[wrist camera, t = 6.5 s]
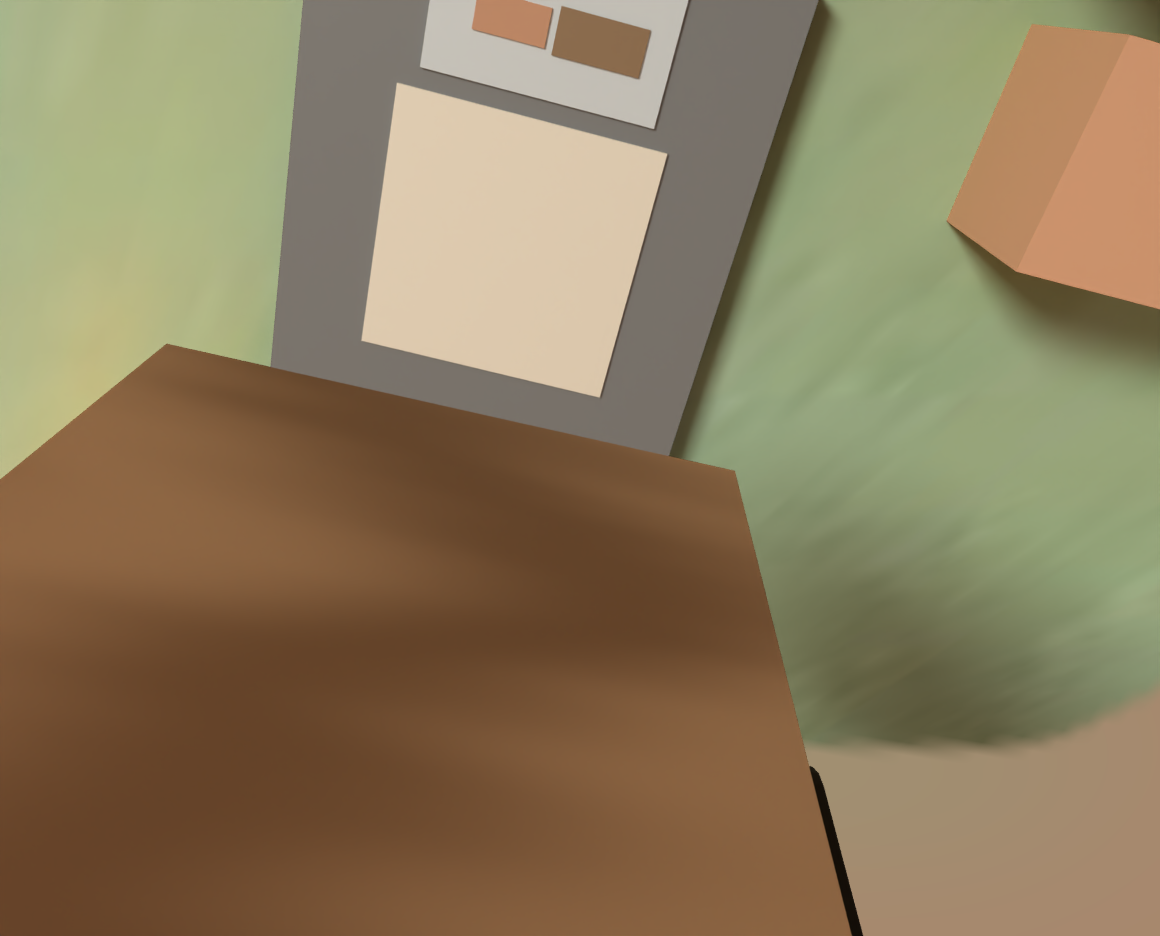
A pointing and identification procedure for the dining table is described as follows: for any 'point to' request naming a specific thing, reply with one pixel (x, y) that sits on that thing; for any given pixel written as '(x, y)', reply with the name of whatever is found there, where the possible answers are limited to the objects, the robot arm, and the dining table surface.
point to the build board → (526, 199)
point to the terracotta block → (1073, 165)
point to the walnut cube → (387, 678)
